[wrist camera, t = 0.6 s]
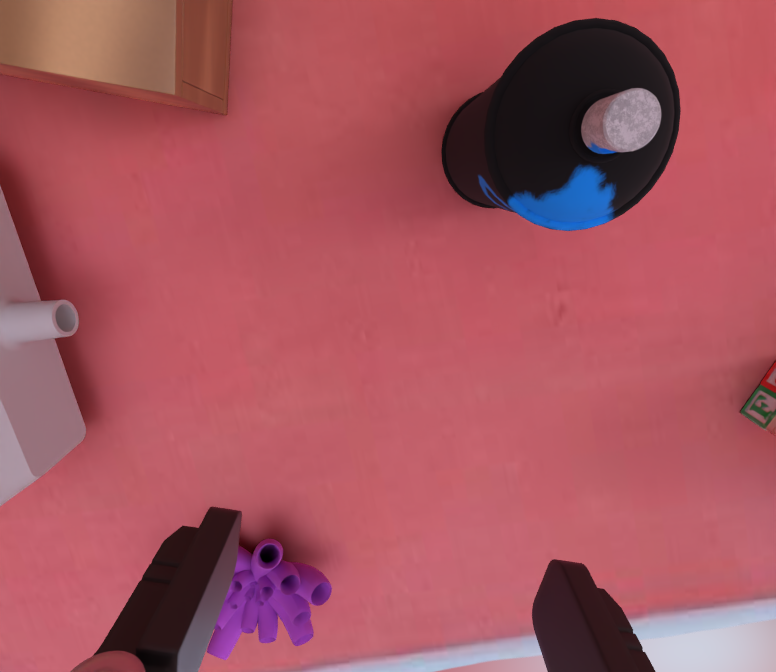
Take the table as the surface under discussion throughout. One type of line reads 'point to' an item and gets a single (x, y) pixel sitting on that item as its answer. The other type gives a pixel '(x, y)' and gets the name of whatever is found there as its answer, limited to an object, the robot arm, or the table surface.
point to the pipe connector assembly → (268, 598)
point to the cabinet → (123, 48)
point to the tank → (31, 372)
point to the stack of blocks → (763, 403)
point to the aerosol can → (568, 128)
